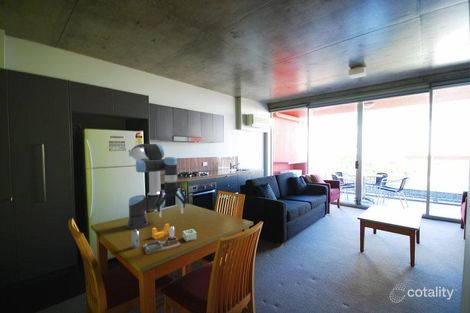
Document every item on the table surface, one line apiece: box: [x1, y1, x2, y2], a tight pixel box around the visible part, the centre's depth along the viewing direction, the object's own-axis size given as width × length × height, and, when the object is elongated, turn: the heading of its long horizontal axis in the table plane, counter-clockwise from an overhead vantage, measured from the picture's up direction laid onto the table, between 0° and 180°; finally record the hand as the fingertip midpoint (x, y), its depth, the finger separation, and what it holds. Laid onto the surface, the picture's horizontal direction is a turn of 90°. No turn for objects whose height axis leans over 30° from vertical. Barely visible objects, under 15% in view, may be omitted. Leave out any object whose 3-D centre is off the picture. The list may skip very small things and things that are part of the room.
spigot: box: [131, 229, 140, 250], centre depth 128 cm, size 4×4×11 cm
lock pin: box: [168, 225, 175, 241], centre depth 132 cm, size 3×3×10 cm
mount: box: [142, 235, 182, 256], centre depth 129 cm, size 12×20×4 cm, turn 122°
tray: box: [182, 228, 197, 243], centre depth 140 cm, size 7×7×5 cm
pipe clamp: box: [151, 223, 170, 240], centre depth 145 cm, size 12×4×6 cm, turn 142°
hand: (171, 215), depth 131 cm, fingers open, 13 cm apart
